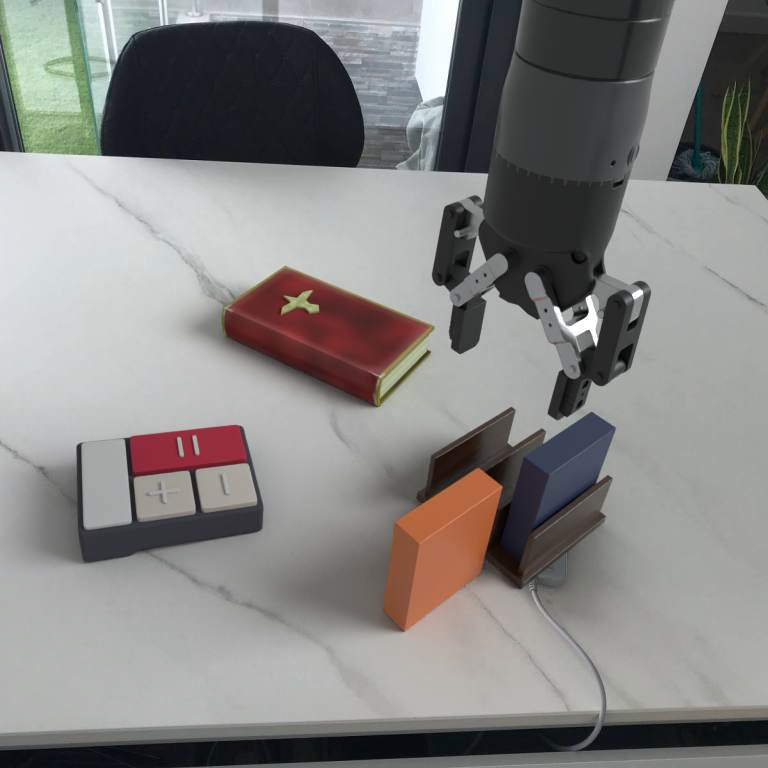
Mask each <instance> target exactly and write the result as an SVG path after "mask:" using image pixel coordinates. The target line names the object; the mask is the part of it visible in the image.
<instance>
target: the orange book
mask: <svg viewBox="0 0 768 768" xmlns="http://www.w3.org/2000/svg"><path fill="white" fill-rule="evenodd" d="M501 491H502V486H501V485H500V484H499V483H497V482H496V481H495V480H493V479H492V478H491V477H490V476H488V475H487V474H486V473H485V472H483V471H482V470H481V469H479V468H477V469H475V470H474V471H472V472H471V473H469V474H468V475H466V476H465V477H463V478H462V479H460V480H459V481H457V482H455V483H454V484H452V485H451V486H449V487H448V488H446V489H445V490H443V491H442V492H440V493H439V494H437V495H435V496H434V497H432V498H431V499H429V500H428V501H426V502H425V503H421V504H419V506H416V508H414V509H413V510H411V511H409V512H408V513H405V515H402V517H400V518H399V519H397V520H395V521H394V525H393V532H392V539H391V547H390V553H389V554H390V555H389V562H388V568H387V577H386V584H385V590H384V591H385V592H384V598H383V599H384V600H383V606H382V611H383V612H384V613H385V614H386V615H387V616H388V617H389V618H390V619H391V620H392V621H393V622H394V623H395V625H396V626H398V628H400V630H401V631H403V632H404V633H405V632H407V631H408V630H409V629H410V628H412V627H413V626H414V625H415V624H417V623H418V622H420V621H421V620H422V619H423V618H425V617H426V616H427V615H429V614H430V613H431V612H433V611H434V610H435V609H436V608H438V607H439V606H440V605H441V604H443V603H444V602H446V601H447V600H448V599H450V598H451V597H452V596H454V595H455V594H456V593H458V592H459V591H460V590H461V589H463V588H464V587H465V586H466V585H468V584H469V583H470V582H471V581H473V580H474V579H476V578H477V577H478V576H479V575H481V572H482V568H483V565H484V561H485V553H486V549H487V545H488V542H489V538H490V534H491V530H492V526H493V522H494V518H495V514H496V511H497V507H498V503H499V499H500V495H501Z"/></svg>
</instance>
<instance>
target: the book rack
mask: <svg viewBox="0 0 768 768" xmlns="http://www.w3.org/2000/svg"><path fill="white" fill-rule="evenodd" d="M516 411H517V410H516V408H514V407H513V406H510V407H508V408H507V409H505V410H503V411H502V412H500V413H499V414H496V415H495V416H494V417H492V418H490V419H489V420H487V421H485V422H484V423H482V424H480V425H479V426H477V427H475V428H473V429H472V430H471V431H469V432H467V433H465V434H464V435H462V436H460V437H459V438H457V439H456V440H454V441H452V442H451V443H449V444H447V445H446V446H444V447H442V448H440V449H438V450H437V451H435V452H433V453H432V454H431V455H430V459H429V465H428V472H427V478H426V485H425V487H423V488H422V489H421V490H419V491H417V493H416V499H417V500H418V501H420V503H421V504H423V503H425V502H426V501H428V500H429V499H431V498H432V497H434V496H435V495H437V494H439V493H440V492H442V491H443V490H445V489H446V488H448V487H449V486H451V485H452V484H454V483H455V482H457V481H459V480H460V479H462V478H463V477H465V476H466V475H468V474H469V473H471V472H472V471H474V470H475V469H477V468H479V469H481V470H482V471H483V472H485V473H486V474H487V475H488V476H490V477H491V478H492V479H493V480H495V481H496V482H497V483H499V484H500V485H501V486H502V491H501V495H500V499H499V503H498V507H497V511H496V514H495V518H494V522H493V526H492V530H491V534H490V538H489V542H488V545H487V549H486V553H485V557H484V559H486V560H487V561H488V562H489V563H491V564H492V565H493V566H494V567H495V568H496V569H498V570H499V572H501V573H502V574H503V575H504V576H505V577H507V578H508V580H510V581H511V582H512V583H513V584H515V586H517V587H518V588H519V589H521V590H522V589H524V587H526V586H527V585H528V584H530V583H531V582H532V581H533V580H534V579H536V578H537V577H538V576H540V575H541V574H542V573H543V572H544V571H546V570H547V569H548V568H549V567H551V566H552V565H553V564H554V563H556V562H557V561H558V560H559V559H561V558H562V557H563V556H564V555H565V554H566V553H568V552H569V551H570V550H572V549H573V548H574V547H575V546H577V545H578V544H579V543H580V542H581V541H582V540H584V539H585V538H586V537H588V536H589V535H590V534H591V533H592V532H594V531H595V530H596V529H598V528H599V527H600V526H602V524H604V523H605V521H606V519H607V515H606V514H604V513H603V512H601V511H602V508H603V506H604V503H605V500H606V498H607V495H608V493H609V491H610V487H611V485H612V483H613V480H614V478H613V477H612V476H610V475H609V474H607V475H606V476H604V477H603V478H601V479H600V480H599V481H597V482H596V484H595V485H594V486H592V487H591V488H590V489H588V490H587V491H586V492H584V493H583V494H582V495H581V496H579V497H578V498H577V499H575V500H574V501H573V502H571V503H570V504H569V505H567V506H566V507H565V508H563V509H562V510H561V511H559V512H558V513H557V514H555V515H554V516H553V517H551V518H550V519H549V520H547V521H546V522H545V523H544V524H542V525H541V526H540V527H538V528H537V529H536V530H534V531H533V532H532V533H530V534H529V536H528V539H527V542H526V546H525V549H524V552H523V556H522V559H521V562H520V561H518V560H517V559H516V558H515V557H514V556H512V555H511V554H510V553H509V552H508V551H507V550H505V549H504V548H503V547H502V546H501V545H500V543H501V539H502V535H503V532H504V528H505V524H506V521H507V517H508V513H509V510H510V506H511V502H512V499H513V495H514V491H515V488H516V484H517V480H518V477H519V473H520V469H521V465H522V462H523V458H524V456H526V455H527V454H529V453H530V452H532V451H533V450H535V449H536V448H538V447H539V446H541V445H542V444H544V443H545V442H544V441H545V437H546V435H547V430H546V429H544V428H543V427H541V428H540V429H538V430H536V431H535V432H534V433H531V434H530V435H528V436H527V437H526V438H524V439H523V440H521V441H520V442H518V443H516V444H515V445H514V446H512V444H510V443H509V439H510V435H511V431H512V427H513V424H514V423H513V422H514V419H515V415H516Z"/></svg>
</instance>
